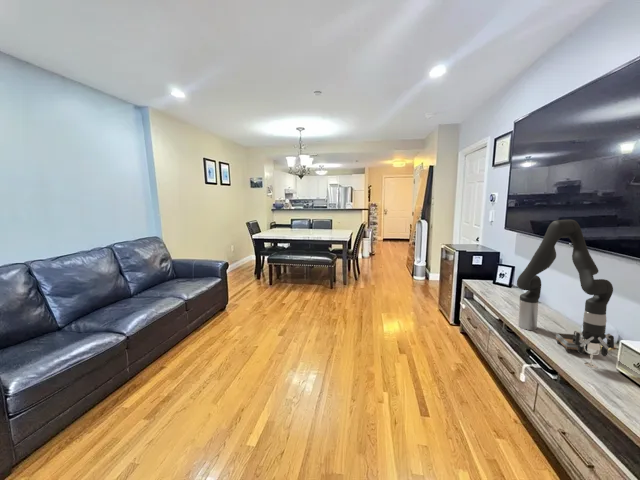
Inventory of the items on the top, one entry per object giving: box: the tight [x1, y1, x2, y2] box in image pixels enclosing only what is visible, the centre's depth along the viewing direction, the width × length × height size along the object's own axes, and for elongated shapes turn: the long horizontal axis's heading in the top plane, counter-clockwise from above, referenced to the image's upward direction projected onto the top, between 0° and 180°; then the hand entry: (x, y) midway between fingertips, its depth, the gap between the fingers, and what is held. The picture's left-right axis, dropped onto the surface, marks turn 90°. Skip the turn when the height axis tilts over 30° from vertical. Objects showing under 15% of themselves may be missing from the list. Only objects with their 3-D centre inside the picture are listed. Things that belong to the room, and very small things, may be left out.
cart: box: [555, 332, 590, 355], centre depth 146 cm, size 12×10×5 cm
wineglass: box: [583, 342, 602, 369], centre depth 131 cm, size 6×6×12 cm
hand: (591, 354), depth 131 cm, fingers open, 8 cm apart
